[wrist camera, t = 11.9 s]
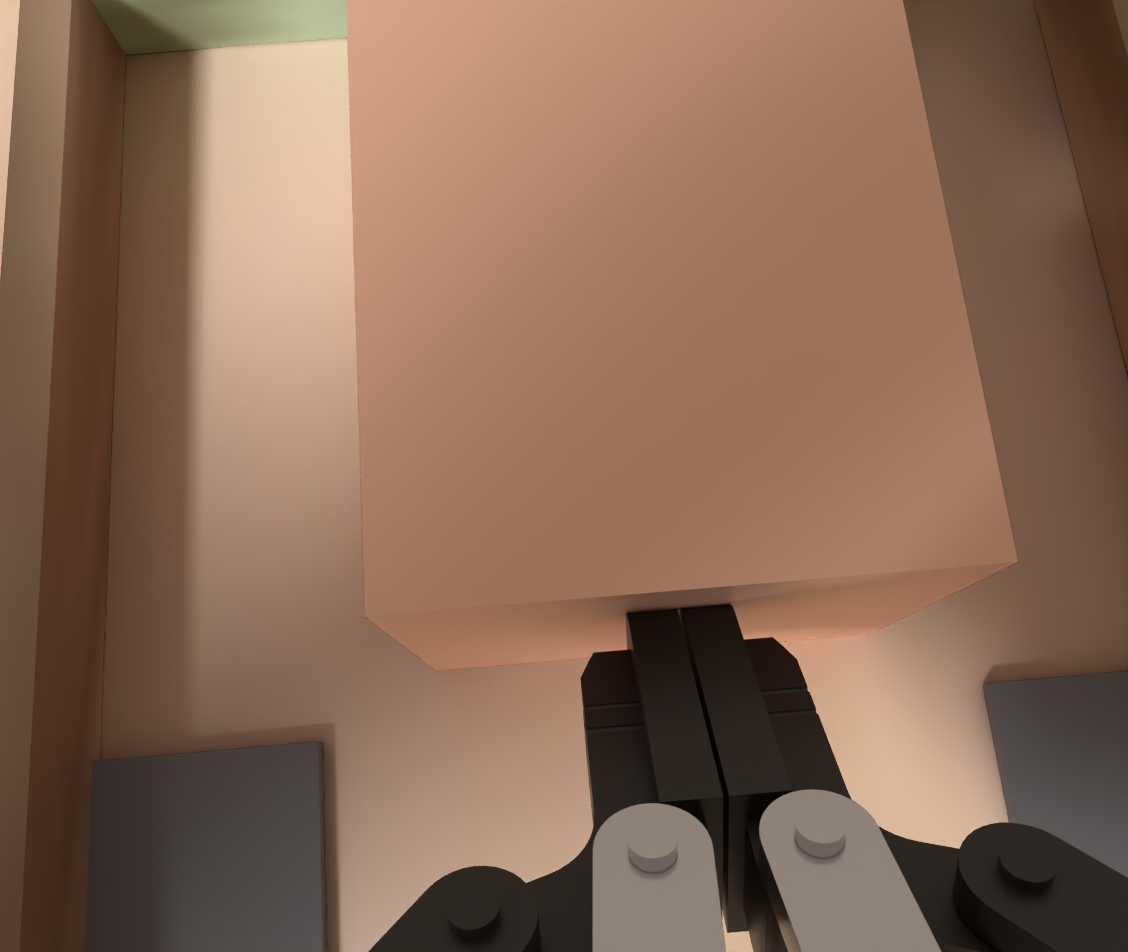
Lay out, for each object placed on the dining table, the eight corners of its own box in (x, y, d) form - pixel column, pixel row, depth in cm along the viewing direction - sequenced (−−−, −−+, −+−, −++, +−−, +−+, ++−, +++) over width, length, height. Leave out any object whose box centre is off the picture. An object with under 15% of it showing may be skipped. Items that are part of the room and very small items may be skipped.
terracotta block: (438, 671, 19) (364, 616, 13) (411, 114, 23) (340, -164, 16) (865, 635, 20) (1017, 561, 13) (777, 85, 23) (861, -203, 16)
